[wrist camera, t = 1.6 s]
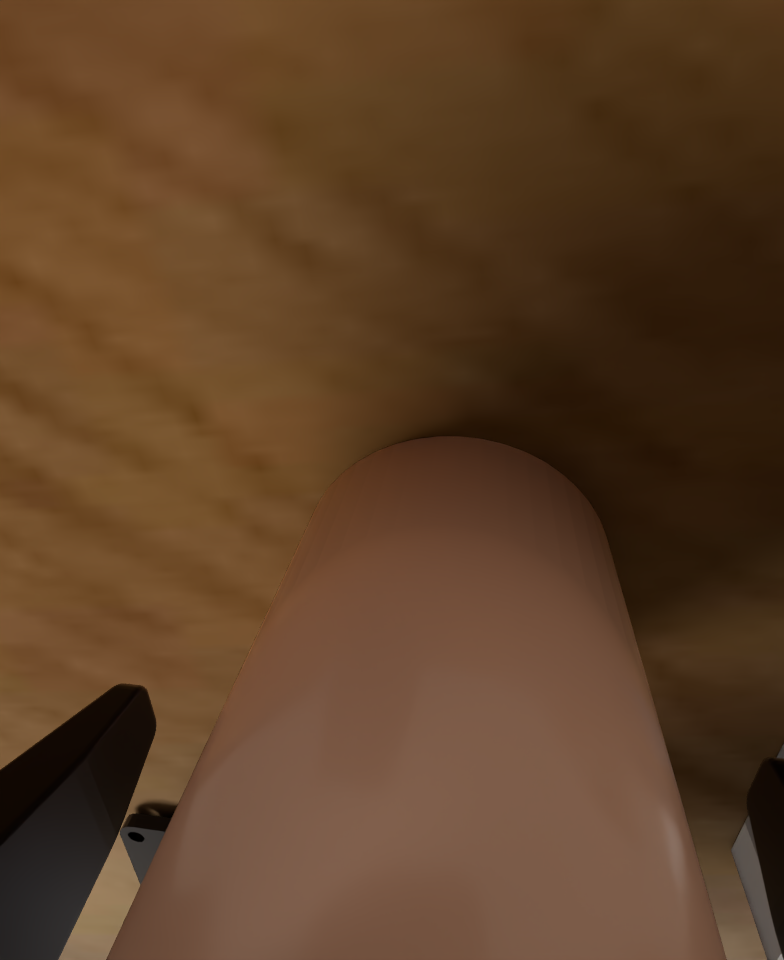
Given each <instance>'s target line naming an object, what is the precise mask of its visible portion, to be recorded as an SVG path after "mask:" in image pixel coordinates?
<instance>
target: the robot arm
mask: <svg viewBox="0 0 784 960" xmlns="http://www.w3.org/2000/svg"><path fill="white" fill-rule="evenodd" d="M155 732H156V718H155V715H154V711H153V708H152V705H151V701H150V698H149V694H148V691H147V689H146V688H145V687H144V686H141V685H132V684H118V685H116V686H114V687H112V688H111V689H110V690H108V691H107V692H106V693H104V694H103V695H101V696H100V697H99V698H97V699H96V700H95V701H93V702H92V703H91V704H89V705H88V706H86V707H85V708H84V709H82V710H81V711H80V712H78V713H77V714H76V715H74V716H73V717H71V718H70V719H69V720H67V721H66V722H65V723H63V724H62V725H61V726H59V727H58V728H57V729H55V730H54V731H52V732H51V733H50V734H48V735H47V736H46V737H44V738H43V739H42V740H40V741H39V742H37V743H36V744H35V745H33V746H32V747H31V748H29V749H28V750H27V751H25V752H24V753H23V754H21V755H20V756H18V757H17V758H16V759H14V760H13V761H12V762H10V763H9V764H8V765H6V766H5V767H3V768H2V769H1V770H0V960H58V959H59V957H60V955H61V953H62V951H63V949H64V947H65V945H66V942H67V940H68V938H69V936H70V934H71V932H72V930H73V928H74V926H75V924H76V922H77V920H78V918H79V915H80V913H81V911H82V909H83V907H84V905H85V903H86V901H87V899H88V897H89V895H90V893H91V890H92V888H93V886H94V884H95V882H96V880H97V878H98V876H99V874H100V872H101V870H102V868H103V866H104V863H105V861H106V859H107V857H108V855H109V853H110V851H111V849H112V846H113V844H114V842H115V840H116V838H117V835H118V833H119V830H120V828H121V825H122V823H123V820H124V818H125V815H126V812H127V809H128V807H129V804H130V801H131V799H132V796H133V793H134V790H135V788H136V785H137V782H138V780H139V777H140V774H141V771H142V769H143V766H144V763H145V760H146V758H147V755H148V752H149V750H150V747H151V744H152V741H153V739H154V736H155ZM747 809H748V815H749V819H750V824H751V828H752V833H753V837H754V842H755V846H756V851H757V855H758V860H759V864H760V869H761V873H762V878H763V882H764V887H765V891H766V896H767V900H768V905H769V909H770V914H771V918H772V922H773V926H774V930H775V934H776V937H777V940H778V944H779V947H780V950H781V953H782V957H783V960H784V759H782V758H774V757H768V758H766V759H765V760H763V762H762V763H761V765H760V767H759V770H758V772H757V774H756V776H755V778H754V780H753V782H752V784H751V786H750V789H749V791H748V794H747ZM171 819H172V818H166V817H159V816H152V815H145V814H131V815H129V816H128V817H127V819H126V821H125V822H124V824H123V826H122V828H121V830H120V835H121V838H122V840H123V843H124V845H125V848H126V850H127V853H128V855H129V857H130V860H131V862H132V865H133V867H134V870H135V872H136V875H137V877H138V880H139V882H140V885H141V883H142V881H143V879H144V877H145V875H146V873H147V871H148V868H149V866H150V864H151V862H152V860H153V858H154V855H155V853H156V851H157V849H158V847H159V845H160V842H161V840H162V838H163V836H164V834H165V832H166V830H167V827H168V825H169V823H170V821H171Z"/></svg>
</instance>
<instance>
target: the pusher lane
mask: <svg viewBox="0 0 784 960" xmlns="http://www.w3.org/2000/svg"><path fill="white" fill-rule="evenodd" d="M777 758H782V759H784V744H783V746H782V748H781V750H780V752H779V754H778V756H777ZM731 852H732V855H733V858H734V861H735V864H736V867H737V870H738V873H739V876H740V879H741V882H742V885H743V888H744V891H745V894H746V897H747V900H748V903H749V906H750V909H751V912H752V915H753V918H754V921H755V924H756V927H757V930H758V933H759V936H760V939H761V942H762V945H763V948H764V951H765V954H766V957H767V960H783V957H782V953H781V950H780V947H779V944H778V940H777V937H776V934H775V930H774V926H773V922H772V918H771V914H770V909H769V905H768V900H767V896H766V891H765V887H764V882H763V878H762V873H761V869H760V864H759V860H758V855H757V851H756V846H755V842H754V837H753V833H752V828H751V824H750V819H749V815H748V817H747V819H746V821H745V823H744V825H743V827H742V829H741V831H740V833H739V835H738V837H737V839H736V841H735V843H734V845H733V847H732V849H731Z"/></svg>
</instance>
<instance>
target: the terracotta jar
mask: <svg viewBox="0 0 784 960" xmlns="http://www.w3.org/2000/svg"><path fill="white" fill-rule="evenodd" d="M106 960H727V959H726V956H725V952H724V949H723V945H722V942H721V938H720V935H719V931H718V928H717V924H716V920H715V917H714V913H713V910H712V906H711V903H710V899H709V896H708V892H707V889H706V885H705V882H704V878H703V875H702V871H701V868H700V864H699V861H698V857H697V854H696V850H695V847H694V843H693V840H692V836H691V833H690V829H689V825H688V822H687V818H686V815H685V811H684V808H683V804H682V801H681V797H680V794H679V790H678V787H677V783H676V780H675V776H674V773H673V769H672V766H671V762H670V759H669V755H668V752H667V748H666V745H665V741H664V737H663V734H662V730H661V727H660V723H659V720H658V716H657V713H656V709H655V706H654V702H653V699H652V695H651V692H650V688H649V685H648V681H647V678H646V674H645V671H644V667H643V664H642V660H641V657H640V653H639V649H638V646H637V642H636V639H635V635H634V632H633V628H632V625H631V621H630V618H629V614H628V611H627V607H626V604H625V600H624V597H623V593H622V590H621V586H620V583H619V579H618V576H617V572H616V569H615V565H614V561H613V558H612V554H611V551H610V547H609V544H608V540H607V537H606V534H605V531H604V529H603V526H602V524H601V521H600V519H599V517H598V515H597V514H596V512H595V510H594V509H593V507H592V505H591V504H590V502H589V501H588V500H587V499H586V497H585V496H584V495H583V494H582V492H581V491H580V490H579V489H578V488H577V487H576V486H575V485H574V484H573V483H572V482H571V481H570V480H569V479H567V478H566V477H565V476H564V475H563V474H562V473H560V472H559V471H557V470H556V469H555V468H553V467H552V466H550V465H549V464H547V463H546V462H544V461H542V460H540V459H538V458H536V457H535V456H533V455H531V454H529V453H527V452H525V451H522V450H519V449H516V448H514V447H511V446H508V445H506V444H502V443H498V442H493V441H489V440H485V439H479V438H470V437H461V436H437V437H428V438H420V439H414V440H410V441H406V442H402V443H398V444H394V445H391V446H389V447H386V448H384V449H381V450H379V451H376V452H374V453H372V454H370V455H369V456H367V457H365V458H363V459H361V460H359V461H358V462H356V463H355V464H354V465H352V466H351V467H350V468H348V469H347V470H346V471H344V472H343V473H342V474H341V475H340V476H339V477H338V478H337V479H336V480H335V481H334V482H333V483H332V484H331V485H330V486H329V488H328V489H327V490H326V492H325V493H324V495H323V496H322V497H321V499H320V500H319V502H318V504H317V506H316V508H315V510H314V512H313V514H312V516H311V518H310V521H309V523H308V525H307V527H306V529H305V531H304V534H303V536H302V538H301V540H300V542H299V544H298V547H297V549H296V551H295V553H294V555H293V557H292V560H291V562H290V564H289V566H288V568H287V570H286V572H285V575H284V577H283V579H282V581H281V583H280V585H279V588H278V590H277V592H276V594H275V596H274V598H273V601H272V603H271V605H270V607H269V609H268V611H267V614H266V616H265V618H264V620H263V622H262V624H261V626H260V629H259V631H258V633H257V635H256V637H255V639H254V642H253V644H252V646H251V648H250V650H249V652H248V655H247V657H246V659H245V661H244V663H243V665H242V668H241V670H240V672H239V674H238V676H237V678H236V680H235V683H234V685H233V687H232V689H231V691H230V693H229V696H228V698H227V700H226V702H225V704H224V706H223V709H222V711H221V713H220V715H219V717H218V719H217V722H216V724H215V726H214V728H213V730H212V732H211V734H210V737H209V739H208V741H207V743H206V745H205V747H204V750H203V752H202V754H201V756H200V758H199V760H198V763H197V765H196V767H195V769H194V771H193V773H192V776H191V778H190V780H189V782H188V784H187V786H186V788H185V791H184V793H183V795H182V797H181V799H180V801H179V804H178V806H177V808H176V810H175V812H174V814H173V817H172V819H171V821H170V823H169V825H168V827H167V830H166V832H165V834H164V836H163V838H162V840H161V842H160V845H159V847H158V849H157V851H156V853H155V855H154V858H153V860H152V862H151V864H150V866H149V868H148V871H147V873H146V875H145V877H144V879H143V881H142V883H141V886H140V888H139V890H138V892H137V894H136V896H135V899H134V901H133V903H132V905H131V907H130V909H129V912H128V914H127V916H126V918H125V920H124V922H123V925H122V927H121V929H120V931H119V933H118V935H117V937H116V940H115V942H114V944H113V946H112V948H111V950H110V953H109V955H108V957H107V959H106Z"/></svg>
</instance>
